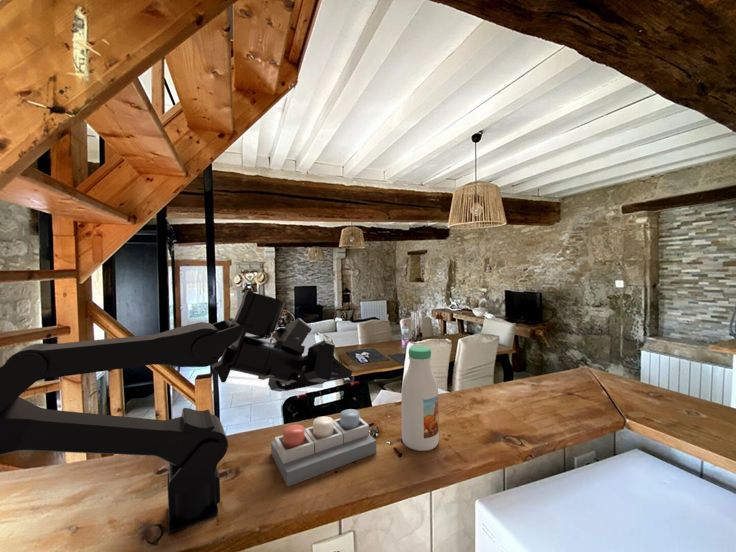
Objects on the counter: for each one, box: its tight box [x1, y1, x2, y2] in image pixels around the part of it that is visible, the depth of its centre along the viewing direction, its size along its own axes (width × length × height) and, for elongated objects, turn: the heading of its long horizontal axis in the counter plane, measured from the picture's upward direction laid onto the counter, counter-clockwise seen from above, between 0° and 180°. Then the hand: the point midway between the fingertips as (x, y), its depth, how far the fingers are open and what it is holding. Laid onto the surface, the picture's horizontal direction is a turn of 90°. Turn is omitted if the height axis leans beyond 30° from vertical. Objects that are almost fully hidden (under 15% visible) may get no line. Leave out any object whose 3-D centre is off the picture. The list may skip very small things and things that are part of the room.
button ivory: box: [312, 415, 334, 439], centre depth 63 cm, size 4×4×2 cm
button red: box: [282, 424, 305, 449], centre depth 60 cm, size 4×4×2 cm
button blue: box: [339, 408, 361, 430], centre depth 66 cm, size 4×4×2 cm
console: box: [270, 417, 377, 487], centre depth 63 cm, size 18×11×4 cm, turn 121°
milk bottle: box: [401, 345, 440, 452], centre depth 66 cm, size 8×8×20 cm
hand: (337, 377), depth 62 cm, fingers open, 9 cm apart
